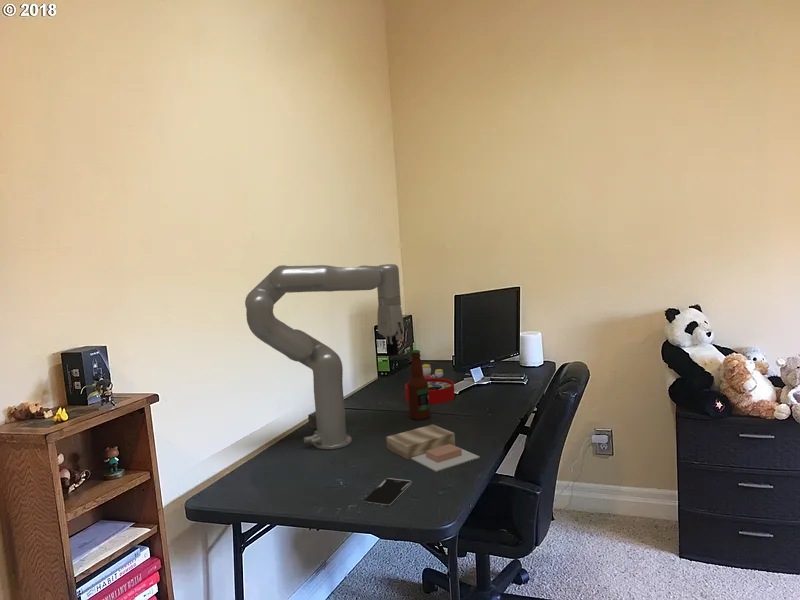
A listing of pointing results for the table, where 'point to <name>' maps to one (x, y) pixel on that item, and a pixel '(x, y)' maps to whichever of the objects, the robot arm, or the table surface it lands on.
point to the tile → (443, 453)
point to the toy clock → (437, 390)
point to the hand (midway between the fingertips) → (393, 355)
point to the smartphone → (388, 491)
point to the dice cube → (312, 420)
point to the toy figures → (428, 370)
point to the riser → (419, 441)
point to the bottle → (418, 390)
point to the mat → (445, 464)
